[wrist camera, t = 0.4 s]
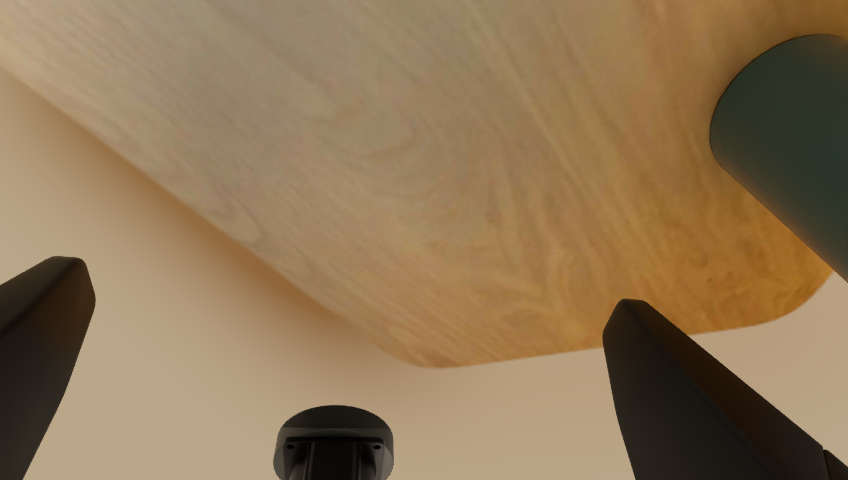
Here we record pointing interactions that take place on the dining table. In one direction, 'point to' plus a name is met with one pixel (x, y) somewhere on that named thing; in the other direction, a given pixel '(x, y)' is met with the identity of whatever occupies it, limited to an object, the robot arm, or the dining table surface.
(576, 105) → the dining table surface
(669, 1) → the dining table surface
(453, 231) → the dining table surface
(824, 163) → the can
